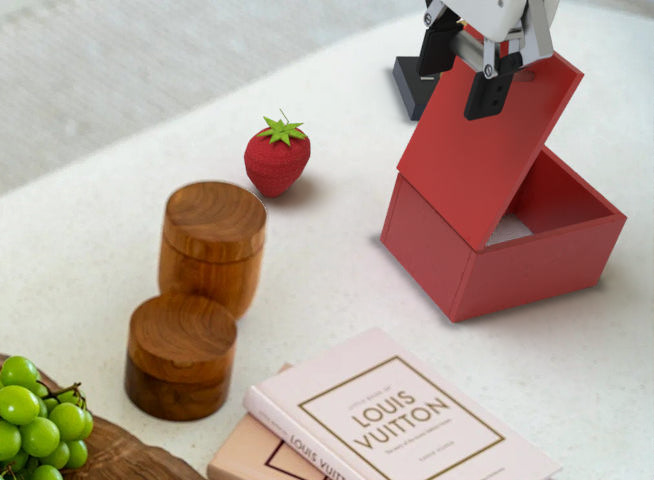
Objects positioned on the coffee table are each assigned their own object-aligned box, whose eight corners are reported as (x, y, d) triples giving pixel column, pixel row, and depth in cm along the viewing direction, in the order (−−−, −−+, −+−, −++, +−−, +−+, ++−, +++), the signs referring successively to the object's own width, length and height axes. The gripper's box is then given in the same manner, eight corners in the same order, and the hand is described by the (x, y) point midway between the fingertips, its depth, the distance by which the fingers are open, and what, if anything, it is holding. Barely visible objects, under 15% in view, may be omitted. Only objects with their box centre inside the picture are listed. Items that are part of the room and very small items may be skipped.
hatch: (487, -3, 95) (439, -7, 92) (585, 74, 86) (535, 71, 84) (402, 168, 105) (357, 167, 103) (482, 250, 97) (435, 252, 95)
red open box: (512, 214, 116) (540, 140, 109) (593, 292, 107) (628, 217, 101) (377, 247, 112) (397, 172, 105) (450, 330, 104) (477, 254, 97)
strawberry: (223, 201, 117) (235, 116, 109) (269, 171, 120) (284, 86, 113) (269, 227, 114) (285, 141, 107) (315, 195, 117) (333, 110, 110)
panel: (493, 80, 133) (501, 55, 131) (517, 128, 126) (526, 103, 124) (390, 79, 133) (396, 54, 131) (408, 128, 126) (415, 102, 124)
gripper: (654, -94, 74) (563, 142, 87) (496, -189, 85) (437, 33, 99) (557, -77, 73) (479, 162, 86) (409, -175, 84) (360, 49, 97)
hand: (457, 91), depth 92 cm, fingers closed on hatch, 6 cm apart
